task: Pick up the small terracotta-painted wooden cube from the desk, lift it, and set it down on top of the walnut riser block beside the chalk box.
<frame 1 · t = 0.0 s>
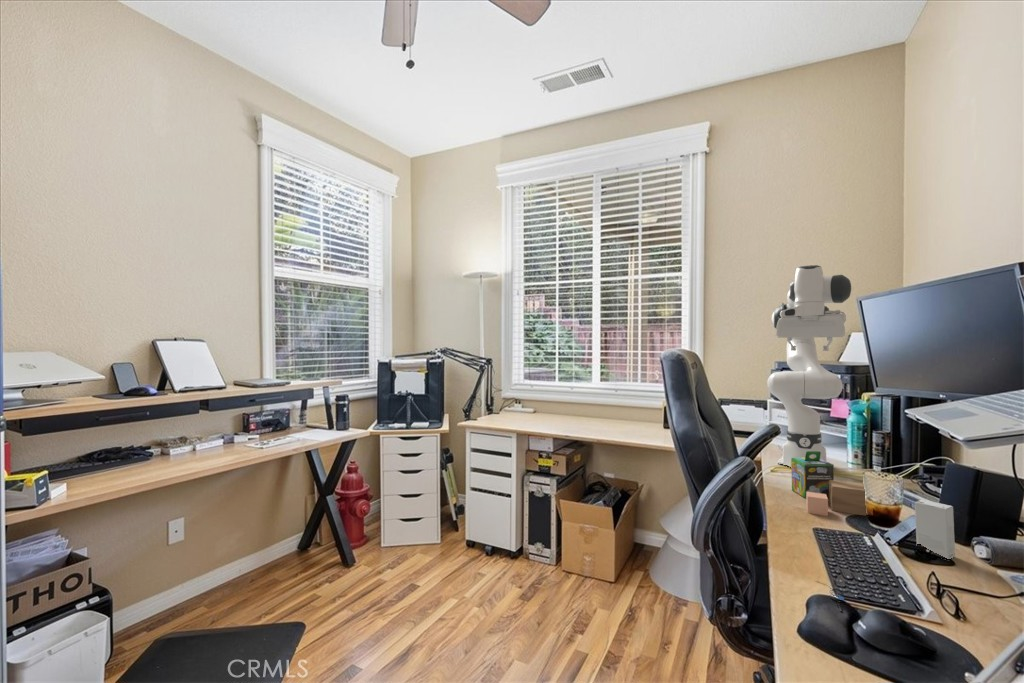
hand: (809, 350, 158), 48 cm above the table, tool pointing down, fingers open, 8 cm apart
chalk box: (812, 495, 150), on the table
key chain: (846, 598, 91), on the table
skincare box: (934, 554, 108), on the table
cube: (816, 511, 135), on the table
walnut riser: (850, 509, 137), on the table
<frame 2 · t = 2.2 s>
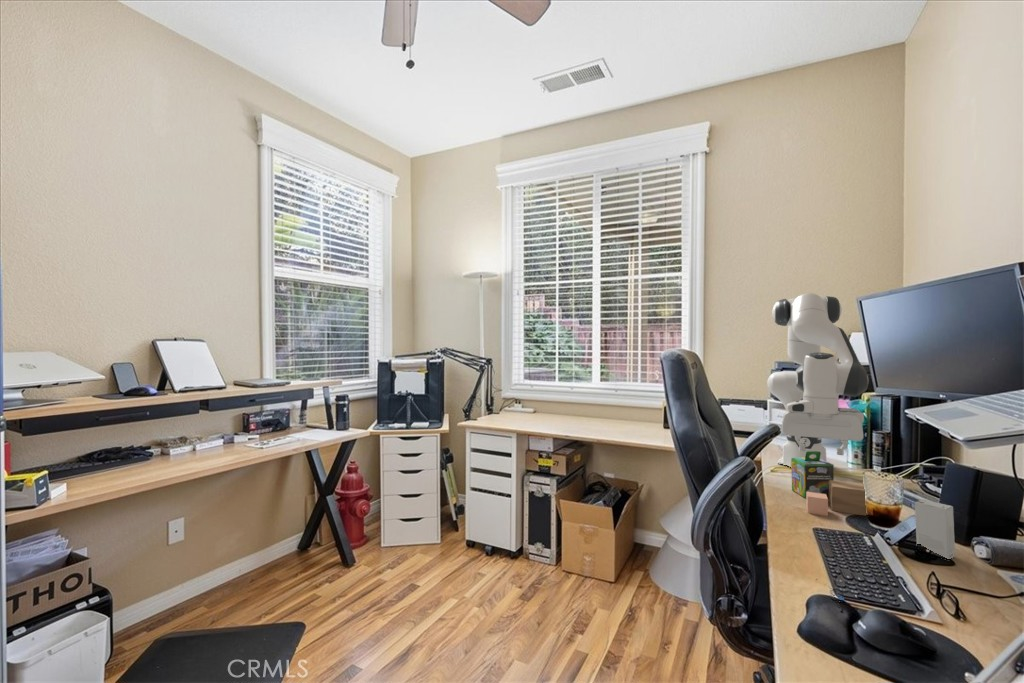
hand: (820, 452, 135), 18 cm above the table, tool pointing down, fingers open, 8 cm apart
nothing on the table moved.
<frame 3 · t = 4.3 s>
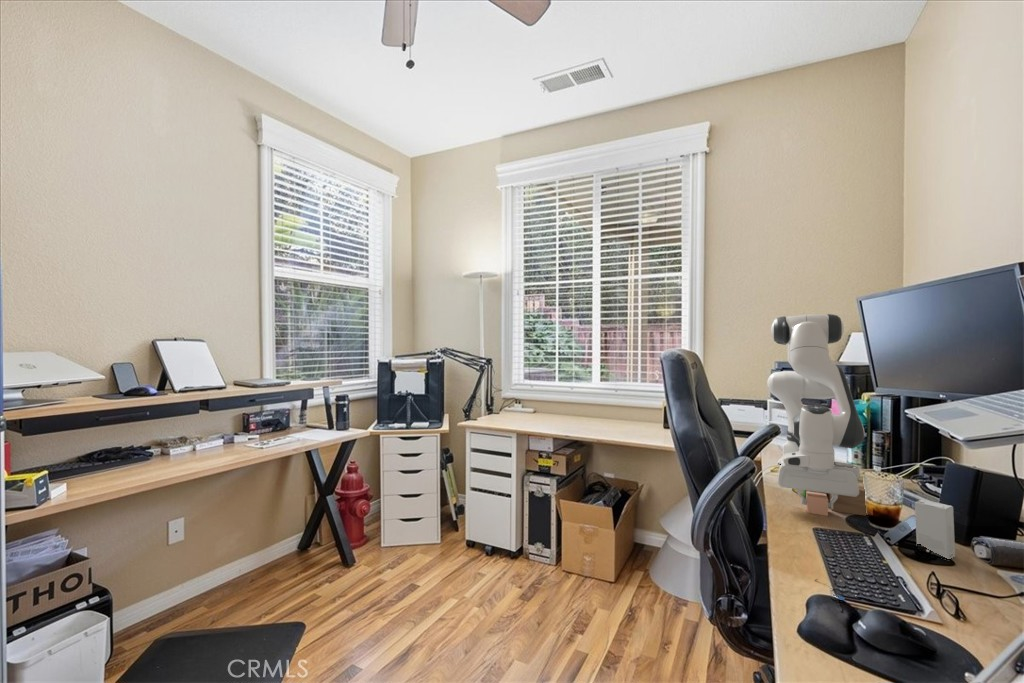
hand: (816, 506, 135), 2 cm above the table, tool pointing down, fingers closed on cube, 5 cm apart
cube: (816, 511, 135), on the table, touching gripper
everything else where it was.
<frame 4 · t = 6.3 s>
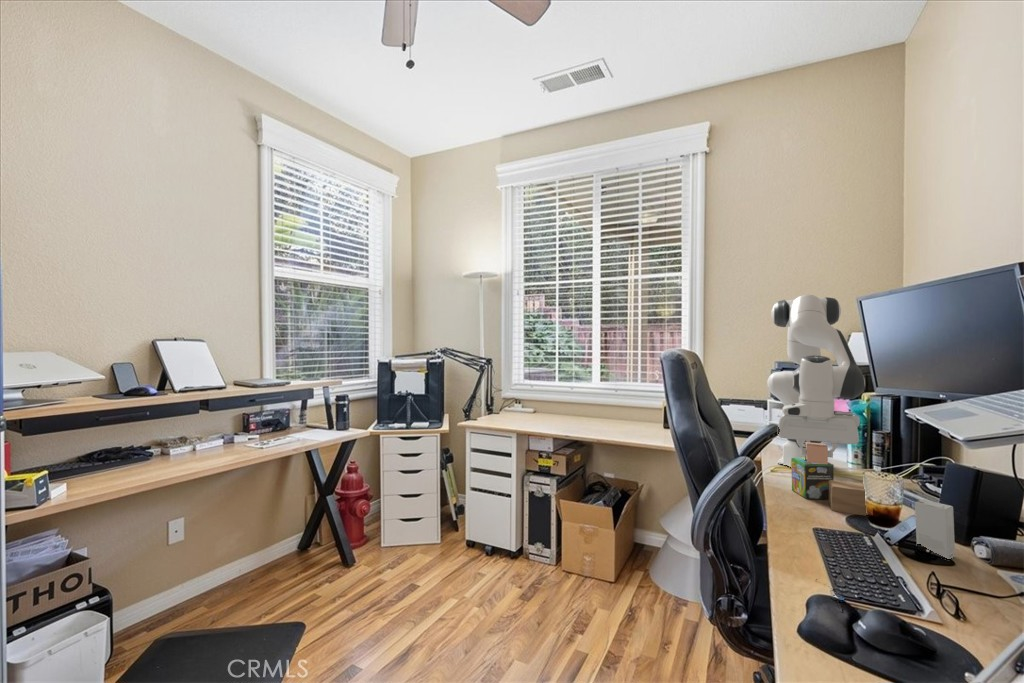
hand: (816, 455, 136), 17 cm above the table, tool pointing down, fingers closed on cube, 5 cm apart
cube: (816, 461, 136), point 15 cm above the table, touching gripper
everything else where it was.
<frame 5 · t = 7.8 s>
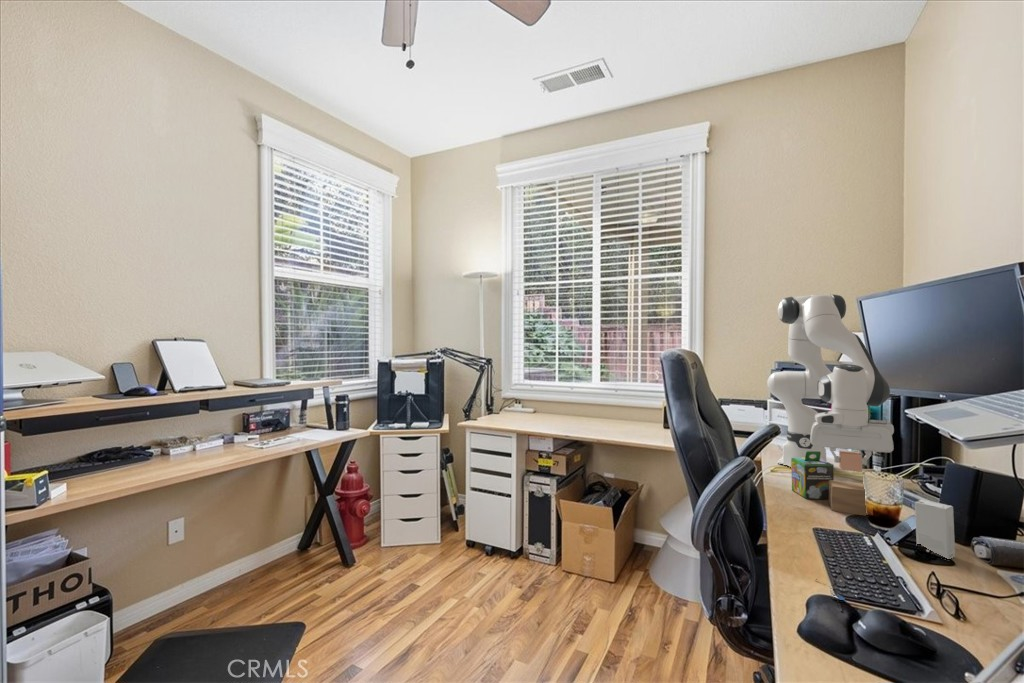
hand: (850, 463, 137), 14 cm above the table, tool pointing down, fingers closed on cube, 5 cm apart
cube: (850, 469, 137), point 12 cm above the table, touching gripper
everything else where it was.
when the fingers open (11 cm above the table, at t = 8.7 s): cube drops 2 cm, resting on walnut riser.
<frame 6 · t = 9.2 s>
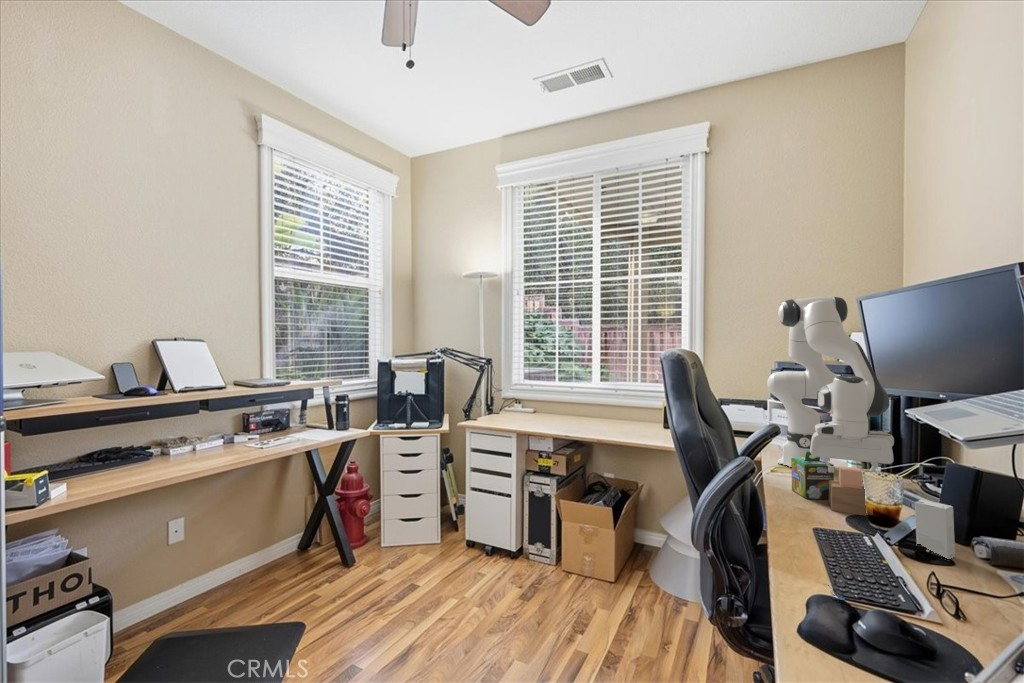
hand: (850, 474, 137), 11 cm above the table, tool pointing down, fingers open, 8 cm apart
cube: (850, 485, 137), point 7 cm above the table, touching walnut riser
everything else where it was.
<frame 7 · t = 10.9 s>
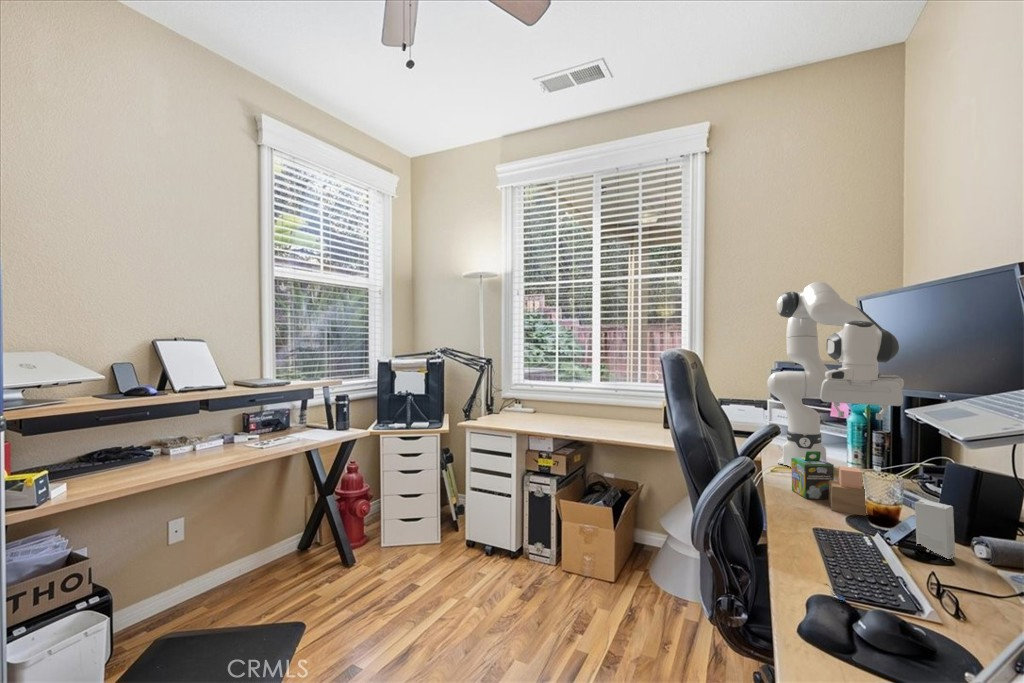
hand: (859, 418, 139), 27 cm above the table, tool pointing down, fingers open, 8 cm apart
nothing on the table moved.
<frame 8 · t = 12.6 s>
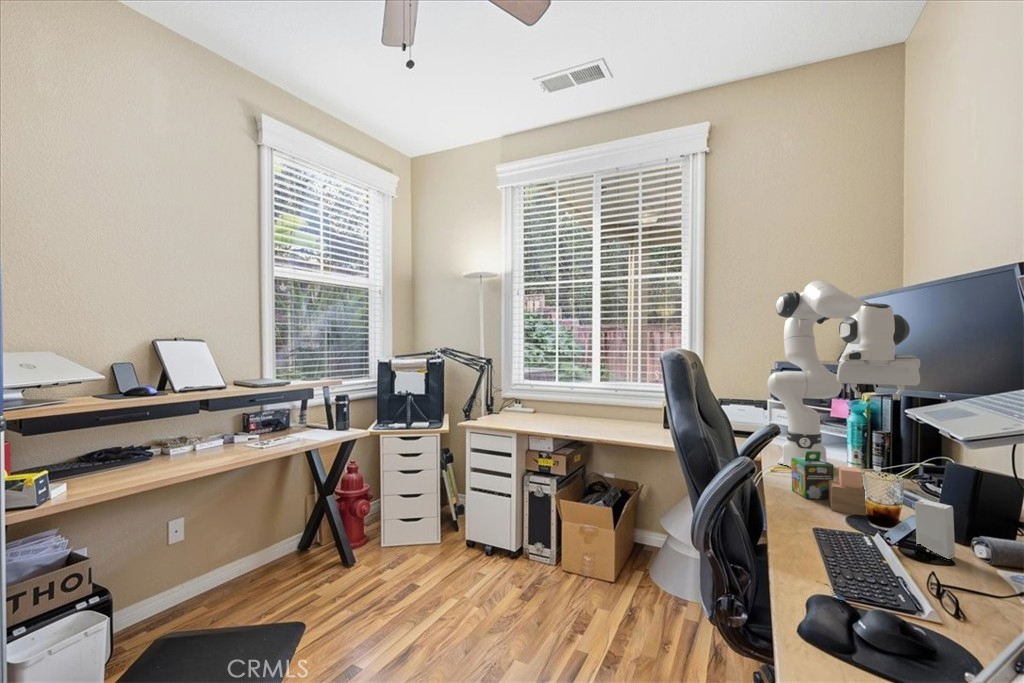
hand: (876, 398, 141), 33 cm above the table, tool pointing down, fingers open, 8 cm apart
nothing on the table moved.
at the end: cube inside the target area on the walnut riser (0.0 cm from its centre), point 7.2 cm above the walnut riser's base; cube tilted 0°; the gripper is holding nothing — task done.
